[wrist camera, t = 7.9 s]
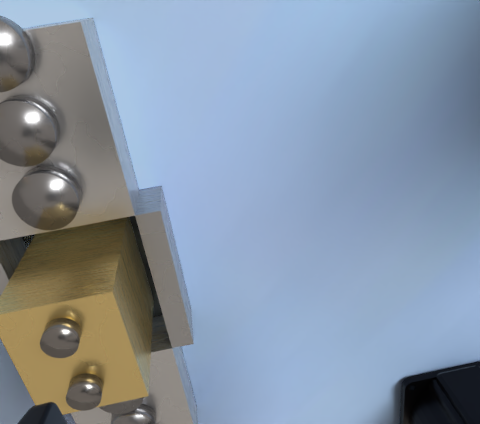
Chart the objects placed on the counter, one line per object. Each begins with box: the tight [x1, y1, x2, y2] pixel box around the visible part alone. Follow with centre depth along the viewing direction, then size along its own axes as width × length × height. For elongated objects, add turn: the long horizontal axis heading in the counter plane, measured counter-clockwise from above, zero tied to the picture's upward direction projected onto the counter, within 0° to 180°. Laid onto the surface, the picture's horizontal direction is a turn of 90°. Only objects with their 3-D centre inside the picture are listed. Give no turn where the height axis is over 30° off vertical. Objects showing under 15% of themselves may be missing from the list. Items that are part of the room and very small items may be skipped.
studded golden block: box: [0, 217, 154, 415], centre depth 18 cm, size 5×4×7 cm
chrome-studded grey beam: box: [0, 16, 198, 424], centre depth 19 cm, size 22×8×3 cm, turn 8°
